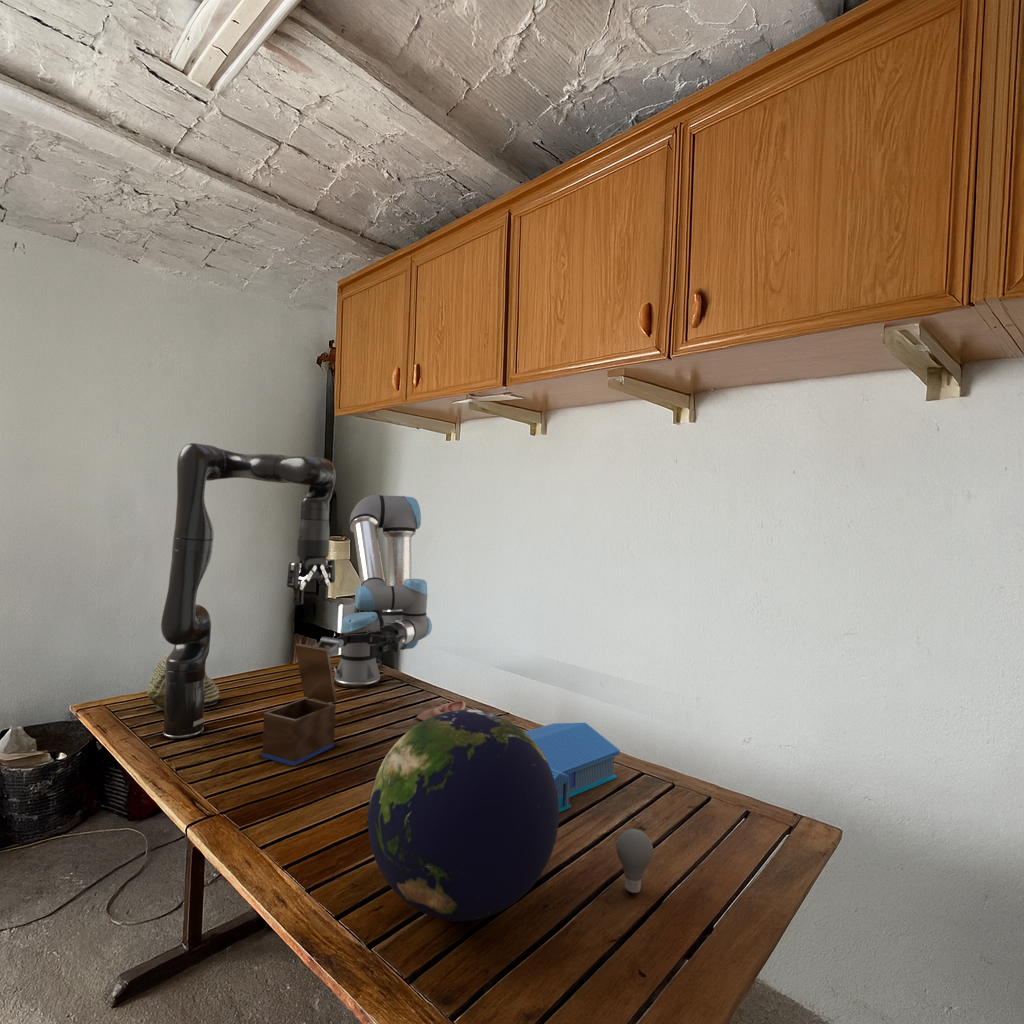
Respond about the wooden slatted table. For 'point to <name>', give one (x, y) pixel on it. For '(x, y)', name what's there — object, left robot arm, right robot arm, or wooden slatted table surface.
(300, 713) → the chest
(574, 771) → the model building
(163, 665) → the fossil
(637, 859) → the light bulb
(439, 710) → the anatomical model
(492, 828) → the globe
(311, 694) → the lid
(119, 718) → the wooden slatted table surface
